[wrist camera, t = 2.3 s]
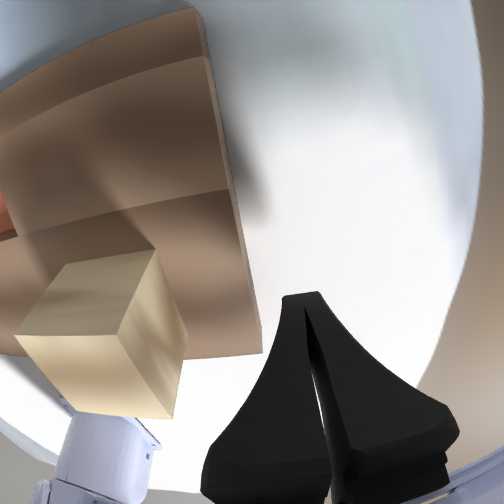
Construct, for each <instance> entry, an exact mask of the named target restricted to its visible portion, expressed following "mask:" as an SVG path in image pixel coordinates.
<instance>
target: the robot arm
mask: <svg viewBox="0 0 504 504" xmlns="http://www.w3.org/2000/svg"><path fill="white" fill-rule="evenodd" d="M311 371H312V372H311ZM312 375H313V377H312ZM313 379H314V382H315V386H316V390H317V394H318V398H319V401H320V406H321V411H322V417H323V424H324V429H323V424H322V420H321V415H320V410H319V406H318V401H317V396H316V391H315V387H314V382H313ZM59 402H60V403H61V404H62V405H63V406H64V407H65V408H66V409H67V410H68V411H69V412H70V413H71V414H72V415H73V417H72V420H71V423H70V425H69V428H68V431H67V434H66V437H65V440H64V443H63V446H62V449H61V452H60V456H59V459H58V462H57V465H56V469H55V472H54V476H53V479H52V480H50V481H47V480H42V481H39V482H37V483H36V486H35V488H34V491H33V495H32V498H31V502H30V504H140V503H141V502H142V501H143V500H144V498H145V496H146V494H147V489H148V482H149V476H150V470H151V464H152V458H153V453H154V450H162V446H161V445H160V444H159V443H158V442H157V441H156V440H155V439H154V438H153V437H152V436H151V435H150V434H149V433H148V432H147V431H146V429H145V428H144V427H143V426H142V425H141V424H140V423H139V422H138V421H137V420H136V419H135V418H134V417H122V416H112V415H103V414H95V413H87V412H81V411H76V410H75V408H74V407H73V406H72V405H71V404H70V403H69V402H68V401H67V400H66V399H65V398H60V399H59ZM324 431H325V433H324ZM459 432H460V430H459V428H458V425H457V423H456V420H455V418H454V417H453V415H452V413H451V411H450V410H449V408H448V406H447V405H445V404H442V403H441V402H439V401H437V400H435V399H433V398H431V397H429V396H427V395H425V394H424V393H422V392H420V391H419V390H417V389H415V388H414V387H412V386H411V385H409V384H408V383H406V382H405V381H403V380H402V379H401V378H399V377H398V376H396V375H395V374H394V373H392V372H391V371H390V370H388V369H387V368H386V367H385V366H383V365H382V364H381V363H380V362H379V361H377V360H376V359H375V358H374V357H373V356H372V355H371V354H370V353H369V352H368V351H367V350H365V349H364V348H363V347H362V346H361V345H360V343H359V342H358V341H357V340H356V339H355V338H354V337H353V336H352V335H351V334H350V333H349V332H348V330H347V329H346V328H345V327H344V326H343V324H342V323H341V322H340V321H339V320H338V318H337V317H336V316H335V314H334V313H333V312H332V310H331V309H330V308H329V306H328V305H327V303H326V302H325V300H324V299H323V297H322V295H321V294H320V293H319V292H318V291H314V292H308V293H301V294H294V295H286V296H284V297H283V298H282V309H281V316H280V321H279V325H278V329H277V332H276V336H275V339H274V342H273V345H272V348H271V351H270V353H269V356H268V359H267V361H266V363H265V366H264V368H263V370H262V372H261V374H260V376H259V378H258V380H257V382H256V384H255V386H254V387H253V389H252V391H251V393H250V394H249V396H248V398H247V399H246V401H245V403H244V404H243V405H242V407H241V408H240V410H239V411H238V413H237V414H236V415H235V417H234V418H233V420H232V421H231V422H230V424H229V425H228V426H227V427H226V429H225V430H224V431H223V432H222V433H221V434H220V436H219V437H218V438H217V439H216V440H215V441H214V443H213V444H212V445H211V446H210V448H209V450H208V453H207V456H206V459H205V462H204V465H203V470H202V475H201V488H200V491H201V493H202V494H203V495H204V496H205V497H207V498H208V499H210V500H211V501H212V502H214V503H215V504H324V500H325V497H327V495H328V491H329V488H330V485H331V497H332V504H420V503H423V502H426V501H428V500H431V499H433V498H436V497H438V496H441V495H443V494H446V493H448V492H449V494H448V495H447V496H445V497H443V498H441V499H439V500H437V501H435V502H432V503H430V504H504V446H502V447H501V448H499V449H497V450H495V451H493V452H491V453H490V454H488V455H486V456H484V457H482V458H480V459H478V460H476V461H474V462H472V463H470V464H468V465H466V466H464V467H461V468H459V469H457V470H455V471H453V472H450V473H447V470H446V466H445V463H447V456H446V453H445V451H446V450H447V449H448V448H449V447H450V446H451V445H452V444H453V443H454V442H455V440H456V439H457V437H458V436H459Z"/></svg>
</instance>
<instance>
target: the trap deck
mask: <svg viewBox="0 0 504 504" xmlns="http://www.w3.org/2000/svg"><path fill="white" fill-rule="evenodd" d="M153 249H156V250H157V253H158V256H159V259H160V262H161V265H162V267H163V270H164V273H165V276H166V278H167V281H168V284H169V286H170V289H171V292H172V294H173V297H174V300H175V302H176V305H177V307H178V310H179V312H180V315H181V317H182V320H183V322H184V325H185V327H186V330H187V332H188V338H187V343H186V348H185V353H184V358H183V360H188V359H205V358H218V357H230V356H241V355H251V354H260V353H263V349H262V327H261V322H260V317H259V312H258V307H257V302H256V297H255V291H254V286H253V281H252V276H251V271H250V266H249V261H248V256H247V250H246V245H245V240H244V235H243V230H242V225H241V219H240V214H239V209H238V204H237V199H236V193H235V188H234V183H233V178H232V172H231V167H230V162H229V157H228V151H227V146H226V141H225V136H224V130H223V125H222V120H221V114H220V109H219V104H218V98H217V93H216V88H215V82H214V77H213V71H212V66H211V61H210V55H209V50H208V44H207V39H206V34H205V28H204V23H203V18H202V17H201V15H200V14H199V12H198V11H197V10H196V8H195V7H190V8H186V9H182V10H178V11H174V12H171V13H167V14H164V15H160V16H157V17H154V18H150V19H147V20H144V21H141V22H138V23H135V24H132V25H130V26H127V27H124V28H121V29H119V30H116V31H114V32H111V33H109V34H106V35H104V36H101V37H99V38H97V39H95V40H92V41H90V42H88V43H86V44H83V45H81V46H79V47H77V48H75V49H73V50H71V51H69V52H67V53H65V54H63V55H61V56H59V57H57V58H56V59H54V60H52V61H50V62H48V63H47V64H45V65H43V66H41V67H40V68H38V69H36V70H34V71H33V72H31V73H30V74H28V75H26V76H25V77H23V78H22V79H20V80H18V81H17V82H15V83H14V84H12V85H11V86H9V87H8V88H6V89H5V90H4V91H2V92H1V93H0V354H6V355H14V356H24V357H30V356H29V355H28V354H27V352H26V351H25V350H24V348H23V347H22V346H21V344H20V343H19V342H18V340H17V339H16V337H15V336H14V334H15V333H16V331H17V330H18V328H19V327H20V325H21V324H22V322H23V321H24V319H25V318H26V317H27V315H28V314H29V312H30V311H31V309H32V308H33V307H34V305H35V304H36V302H37V301H38V300H39V298H40V297H41V296H42V294H43V293H44V292H45V290H46V289H47V288H48V286H49V285H50V284H51V282H52V281H53V280H54V279H55V277H56V276H57V275H58V273H59V272H60V271H61V270H62V268H63V267H64V266H65V265H66V264H68V263H74V262H80V261H86V260H92V259H98V258H104V257H110V256H116V255H122V254H128V253H134V252H140V251H146V250H153Z"/></svg>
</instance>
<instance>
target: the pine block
mask: <svg viewBox="0 0 504 504" xmlns="http://www.w3.org/2000/svg"><path fill="white" fill-rule="evenodd" d="M14 336H15V337H16V339H17V340H18V342H19V343H20V344H21V346H22V347H23V348H24V350H25V351H26V352H27V354H28V355H29V356H30V358H31V359H32V360H33V362H34V363H35V364H36V365H37V367H38V368H39V369H40V370H41V372H42V373H43V374H44V375H45V376H46V378H47V379H48V380H49V381H50V382H51V383H52V385H53V386H54V387H55V388H56V389H57V390H58V391H59V392H60V394H61V395H62V396H63V397H64V398H65V399H66V400H67V401H68V402H69V403H70V404H71V405H72V406H73V407H74V408H75V410H76V411H81V412H87V413H95V414H103V415H112V416H122V417H134V418H149V419H173V413H174V407H175V402H176V396H177V390H178V385H179V379H180V374H181V369H182V363H183V358H184V353H185V348H186V343H187V338H188V332H187V330H186V327H185V325H184V322H183V320H182V317H181V315H180V312H179V310H178V307H177V305H176V302H175V300H174V297H173V294H172V292H171V289H170V286H169V284H168V281H167V278H166V276H165V273H164V270H163V267H162V265H161V262H160V259H159V256H158V253H157V250H156V249H153V250H146V251H140V252H134V253H128V254H122V255H116V256H110V257H104V258H98V259H92V260H86V261H80V262H74V263H68V264H66V265H65V266H64V267H63V268H62V270H61V271H60V272H59V273H58V275H57V276H56V277H55V279H54V280H53V281H52V282H51V284H50V285H49V286H48V288H47V289H46V290H45V292H44V293H43V294H42V296H41V297H40V298H39V300H38V301H37V302H36V304H35V305H34V307H33V308H32V309H31V311H30V312H29V314H28V315H27V317H26V318H25V319H24V321H23V322H22V324H21V325H20V327H19V328H18V330H17V331H16V333H15V334H14Z"/></svg>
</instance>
